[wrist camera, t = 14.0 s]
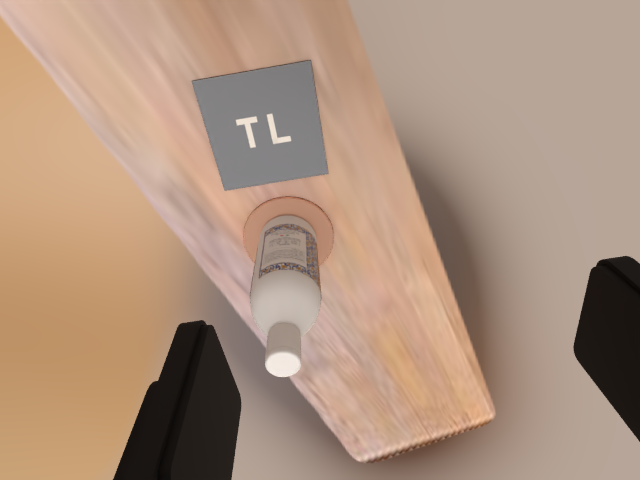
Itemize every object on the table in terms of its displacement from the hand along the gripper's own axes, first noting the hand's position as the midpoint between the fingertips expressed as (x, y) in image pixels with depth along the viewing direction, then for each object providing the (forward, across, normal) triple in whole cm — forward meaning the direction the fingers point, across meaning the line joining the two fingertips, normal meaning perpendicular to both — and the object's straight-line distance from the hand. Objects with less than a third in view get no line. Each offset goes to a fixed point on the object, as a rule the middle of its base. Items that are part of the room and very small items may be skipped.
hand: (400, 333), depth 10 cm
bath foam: (+36, +7, +17) cm, 40 cm away
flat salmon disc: (+36, +7, +18) cm, 41 cm away
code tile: (+36, +7, +4) cm, 37 cm away
